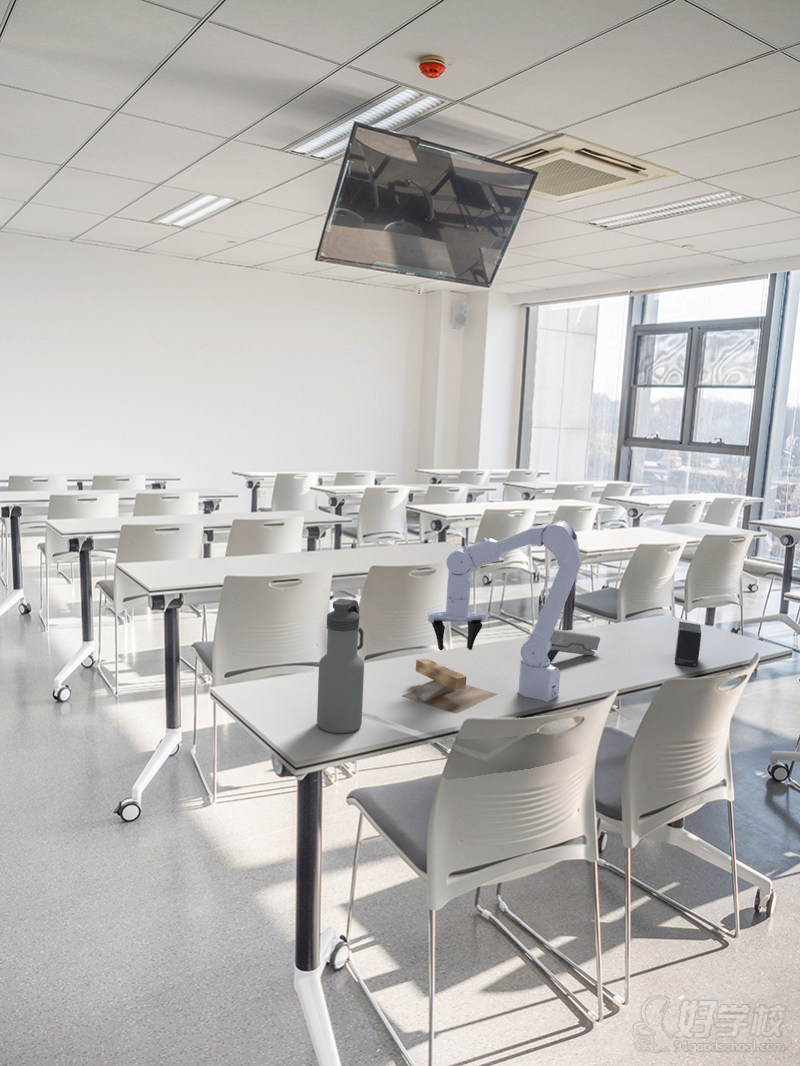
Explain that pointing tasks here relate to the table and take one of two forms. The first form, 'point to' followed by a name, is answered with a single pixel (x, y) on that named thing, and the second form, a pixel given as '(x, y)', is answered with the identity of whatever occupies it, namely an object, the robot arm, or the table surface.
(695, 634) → the small box
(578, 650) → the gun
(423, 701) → the stand
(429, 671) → the oak bar
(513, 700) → the table surface
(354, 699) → the water bottle
